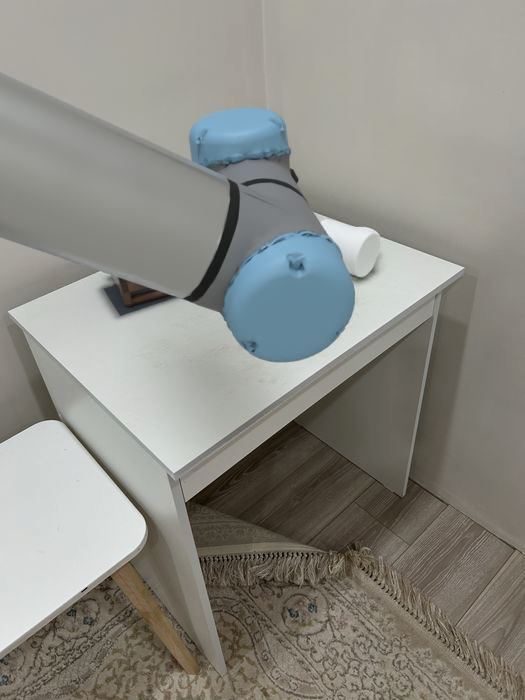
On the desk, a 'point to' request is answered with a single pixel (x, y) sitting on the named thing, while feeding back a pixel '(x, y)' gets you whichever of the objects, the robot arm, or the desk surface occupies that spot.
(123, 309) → the mat
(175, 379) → the desk surface
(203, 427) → the desk surface
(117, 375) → the desk surface
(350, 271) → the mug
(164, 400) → the desk surface
